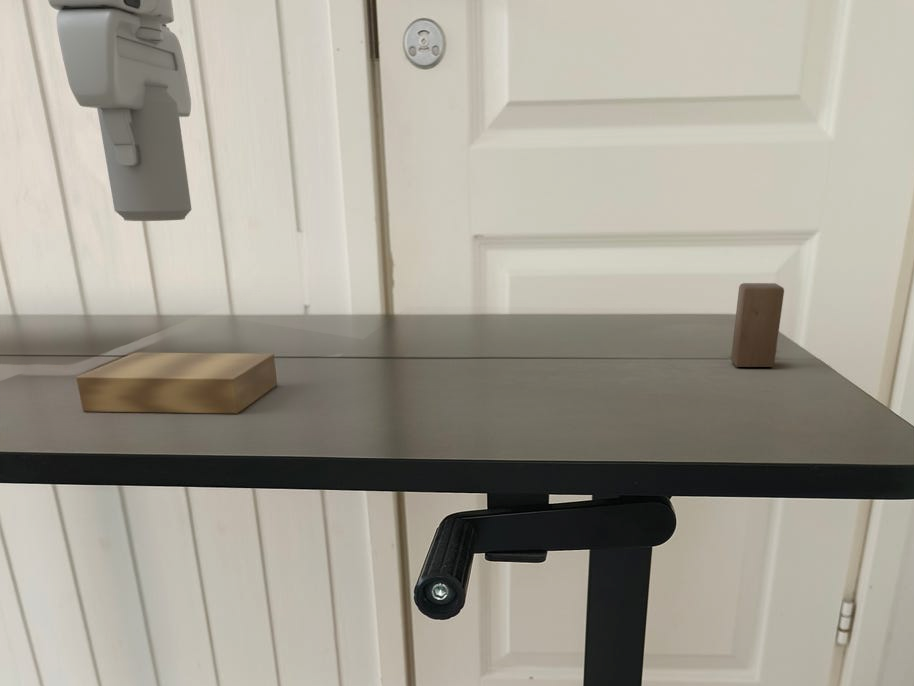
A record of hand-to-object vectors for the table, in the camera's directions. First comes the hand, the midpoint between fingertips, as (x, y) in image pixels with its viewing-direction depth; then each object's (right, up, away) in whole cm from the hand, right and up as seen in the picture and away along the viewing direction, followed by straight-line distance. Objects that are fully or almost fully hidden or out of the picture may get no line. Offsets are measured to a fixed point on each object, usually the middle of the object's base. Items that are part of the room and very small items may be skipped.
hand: (148, 166), depth 91 cm
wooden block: (+62, -18, +6) cm, 65 cm away
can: (0, -4, +2) cm, 5 cm away
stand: (+6, -25, -6) cm, 26 cm away
